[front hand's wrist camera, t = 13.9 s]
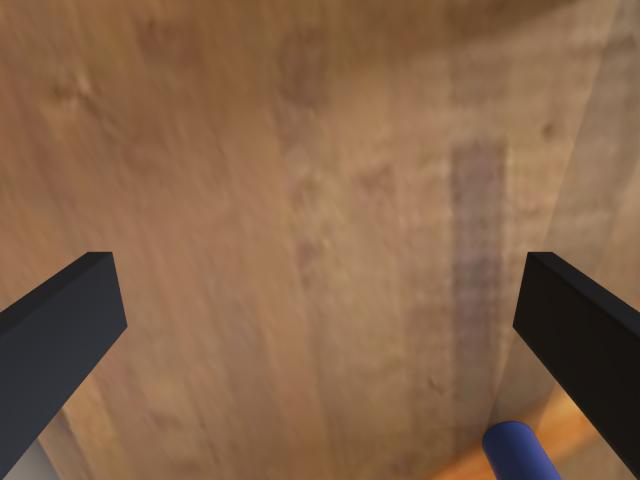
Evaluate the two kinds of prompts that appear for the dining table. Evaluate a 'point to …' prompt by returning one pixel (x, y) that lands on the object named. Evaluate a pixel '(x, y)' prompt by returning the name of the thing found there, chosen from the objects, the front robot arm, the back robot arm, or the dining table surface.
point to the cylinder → (517, 453)
